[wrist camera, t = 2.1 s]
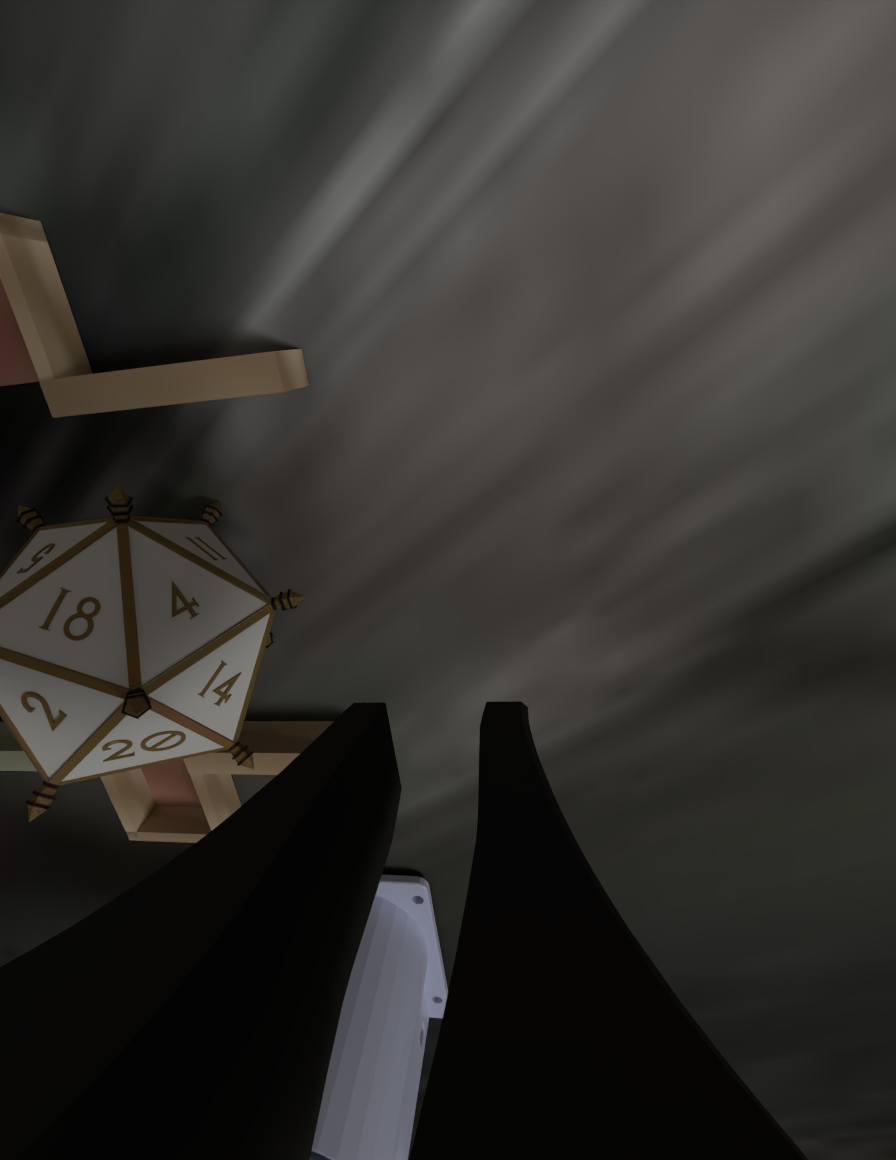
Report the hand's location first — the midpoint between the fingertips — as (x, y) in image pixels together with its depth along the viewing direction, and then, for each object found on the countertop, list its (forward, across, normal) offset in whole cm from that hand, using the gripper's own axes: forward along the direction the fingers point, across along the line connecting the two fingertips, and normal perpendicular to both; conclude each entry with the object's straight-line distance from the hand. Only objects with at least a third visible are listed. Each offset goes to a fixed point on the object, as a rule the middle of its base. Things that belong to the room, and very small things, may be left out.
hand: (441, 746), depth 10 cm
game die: (+9, +10, 0) cm, 13 cm away
